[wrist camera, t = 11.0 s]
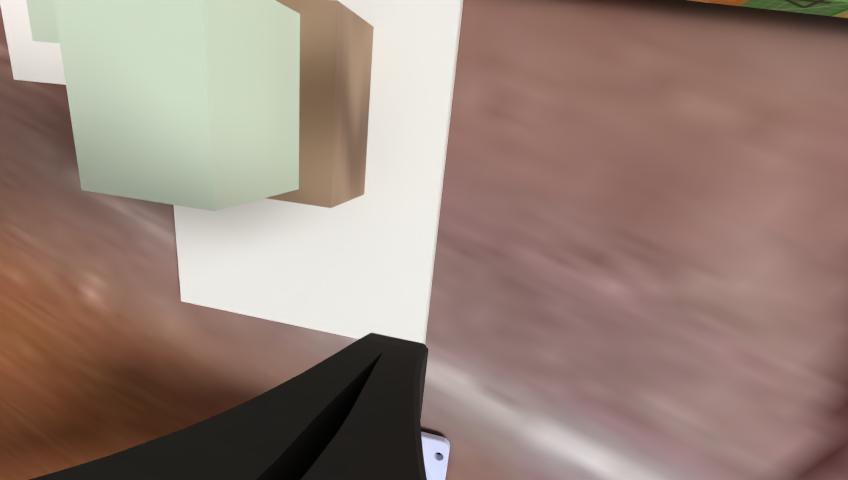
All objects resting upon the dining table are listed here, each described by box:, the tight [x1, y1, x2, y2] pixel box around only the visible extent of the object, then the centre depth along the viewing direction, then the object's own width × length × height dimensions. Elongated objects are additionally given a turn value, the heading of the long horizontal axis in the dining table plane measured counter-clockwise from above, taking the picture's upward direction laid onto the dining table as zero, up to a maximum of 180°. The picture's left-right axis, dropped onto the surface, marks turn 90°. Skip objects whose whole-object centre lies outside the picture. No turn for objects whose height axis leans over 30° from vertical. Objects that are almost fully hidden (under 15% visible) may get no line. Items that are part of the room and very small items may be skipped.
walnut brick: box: [267, 0, 374, 208], centre depth 16 cm, size 7×7×4 cm
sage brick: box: [54, 0, 300, 211], centre depth 13 cm, size 6×4×4 cm
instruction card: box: [0, 0, 66, 85], centre depth 20 cm, size 8×10×1 cm
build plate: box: [173, 0, 463, 344], centre depth 19 cm, size 18×14×1 cm
